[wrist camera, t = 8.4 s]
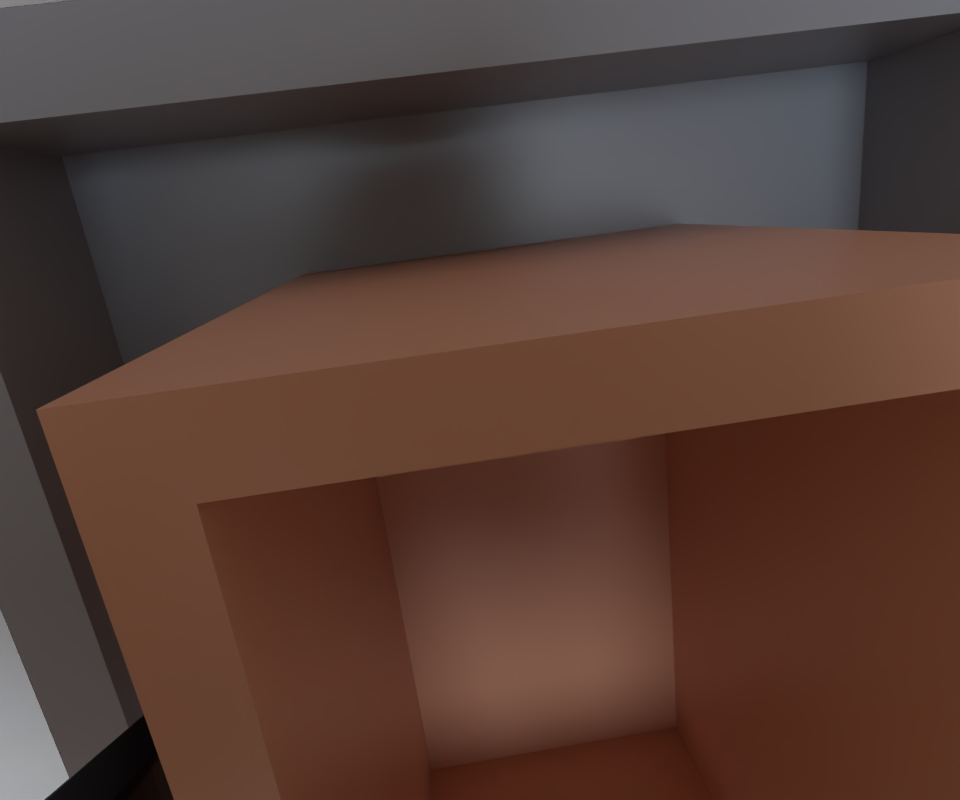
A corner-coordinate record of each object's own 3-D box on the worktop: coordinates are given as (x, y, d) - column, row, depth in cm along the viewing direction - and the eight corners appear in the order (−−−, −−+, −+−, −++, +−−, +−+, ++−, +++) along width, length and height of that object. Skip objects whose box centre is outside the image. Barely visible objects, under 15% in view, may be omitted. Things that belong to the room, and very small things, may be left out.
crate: (896, -4, 10) (1135, -113, 7) (844, 768, 15) (969, 930, 11) (1, 98, 9) (-235, 32, 6) (247, 874, 14) (192, 1080, 11)
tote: (680, 223, 10) (1213, 242, 3) (694, 722, 13) (988, 1271, 6) (303, 274, 10) (36, 410, 3) (405, 772, 13) (388, 1404, 6)
